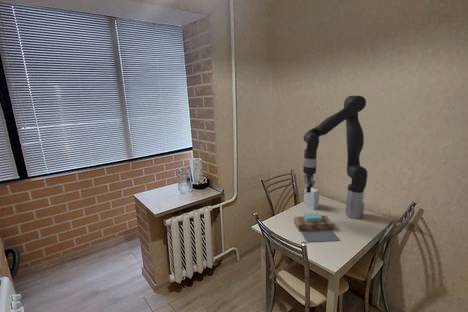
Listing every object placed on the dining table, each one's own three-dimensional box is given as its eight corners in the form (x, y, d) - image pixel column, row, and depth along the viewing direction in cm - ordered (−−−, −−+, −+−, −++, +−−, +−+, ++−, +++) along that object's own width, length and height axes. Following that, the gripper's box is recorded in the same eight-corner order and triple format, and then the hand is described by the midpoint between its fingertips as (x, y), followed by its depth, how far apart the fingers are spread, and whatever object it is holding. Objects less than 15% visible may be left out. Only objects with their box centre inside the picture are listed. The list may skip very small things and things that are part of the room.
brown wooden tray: (325, 221, 154) (326, 215, 153) (332, 229, 144) (333, 223, 143) (293, 222, 153) (294, 216, 153) (298, 231, 144) (298, 224, 143)
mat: (331, 230, 144) (331, 229, 144) (340, 240, 133) (340, 240, 133) (300, 231, 143) (300, 231, 143) (306, 242, 133) (306, 241, 132)
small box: (318, 207, 173) (319, 189, 170) (313, 210, 169) (314, 192, 166) (308, 203, 179) (309, 186, 176) (303, 206, 176) (304, 189, 173)
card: (318, 216, 152) (318, 213, 151) (322, 221, 146) (322, 217, 145) (303, 217, 151) (303, 213, 151) (306, 222, 145) (307, 218, 145)
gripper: (320, 168, 144) (318, 196, 148) (312, 162, 157) (310, 188, 161) (307, 168, 144) (306, 196, 147) (300, 162, 156) (299, 188, 160)
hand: (308, 192), depth 154 cm, fingers closed
